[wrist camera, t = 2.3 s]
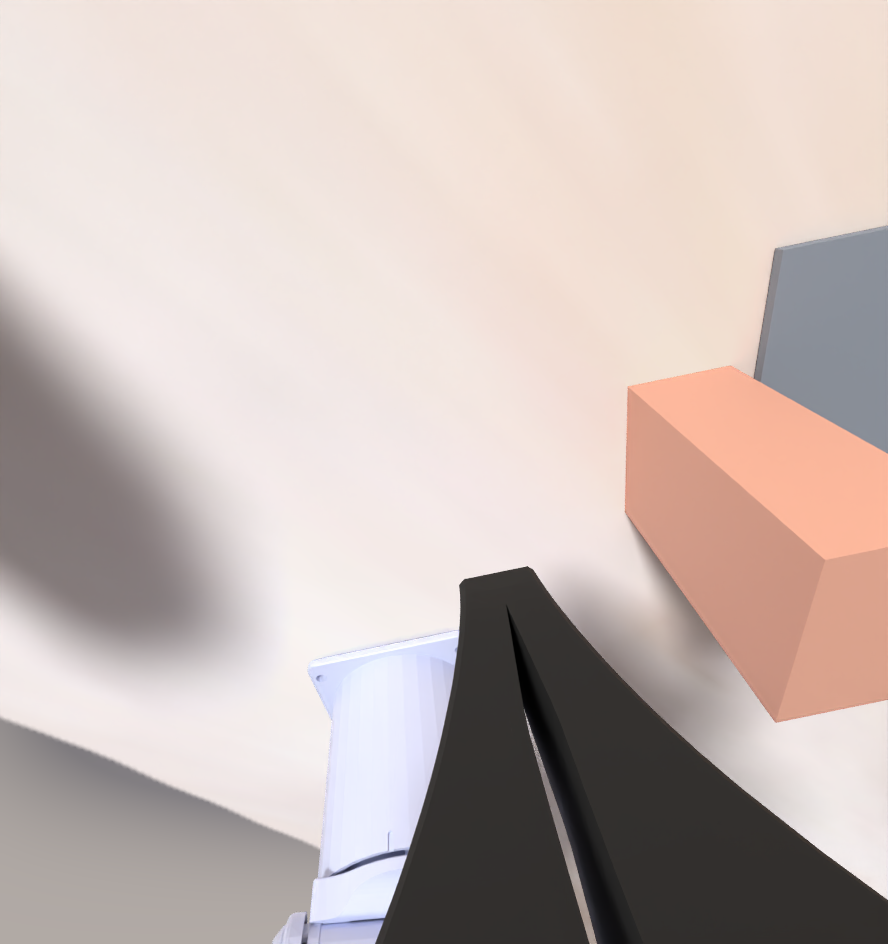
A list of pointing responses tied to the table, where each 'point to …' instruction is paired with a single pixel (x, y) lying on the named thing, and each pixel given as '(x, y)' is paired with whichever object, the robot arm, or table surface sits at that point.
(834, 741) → the table surface
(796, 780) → the table surface
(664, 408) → the block
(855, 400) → the mat
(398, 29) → the table surface
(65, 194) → the table surface
